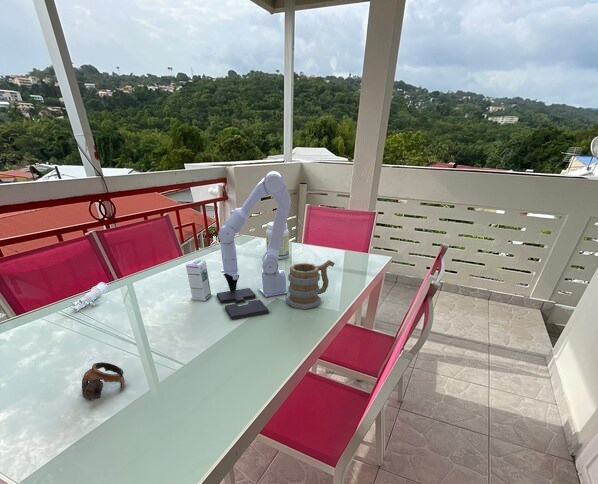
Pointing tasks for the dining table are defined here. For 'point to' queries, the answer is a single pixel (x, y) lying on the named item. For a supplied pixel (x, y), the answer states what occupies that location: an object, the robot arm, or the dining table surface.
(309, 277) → the tankard
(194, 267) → the syrup box
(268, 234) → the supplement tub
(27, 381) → the dining table surface
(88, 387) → the brown looped strap
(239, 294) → the black pad
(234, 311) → the charcoal pad
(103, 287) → the toy cannon
